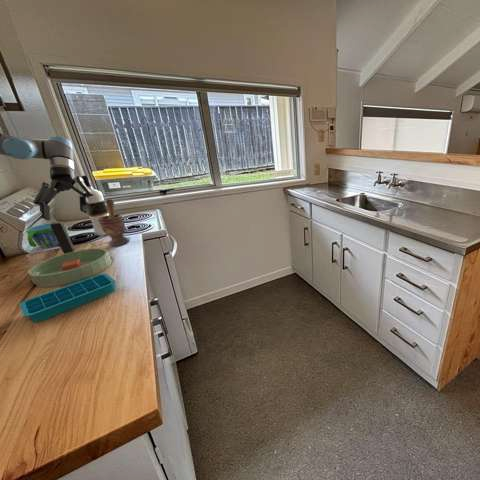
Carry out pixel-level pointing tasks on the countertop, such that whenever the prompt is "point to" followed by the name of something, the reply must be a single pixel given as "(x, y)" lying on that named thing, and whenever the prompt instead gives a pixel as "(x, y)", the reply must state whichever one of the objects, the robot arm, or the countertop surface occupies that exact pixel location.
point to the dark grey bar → (62, 237)
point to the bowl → (53, 275)
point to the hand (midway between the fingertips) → (65, 215)
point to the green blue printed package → (42, 236)
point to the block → (71, 265)
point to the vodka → (95, 207)
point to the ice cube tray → (67, 297)
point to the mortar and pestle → (113, 225)
